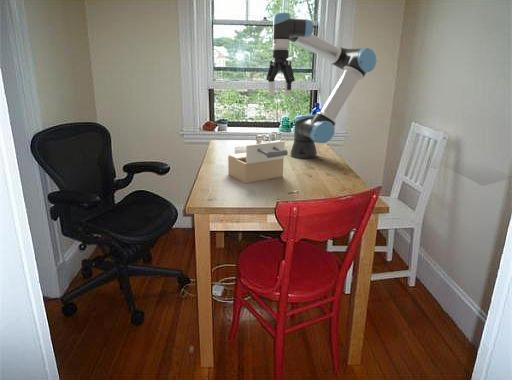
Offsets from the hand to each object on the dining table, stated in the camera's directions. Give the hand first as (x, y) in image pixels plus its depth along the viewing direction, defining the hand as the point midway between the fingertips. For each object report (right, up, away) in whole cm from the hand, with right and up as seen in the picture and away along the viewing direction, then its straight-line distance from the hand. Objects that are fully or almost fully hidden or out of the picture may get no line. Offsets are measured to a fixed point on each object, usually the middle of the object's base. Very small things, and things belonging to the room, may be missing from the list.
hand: (279, 96), depth 176 cm
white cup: (-18, -35, +6) cm, 40 cm away
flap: (-7, -29, -18) cm, 35 cm away
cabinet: (-12, -39, -8) cm, 42 cm away
